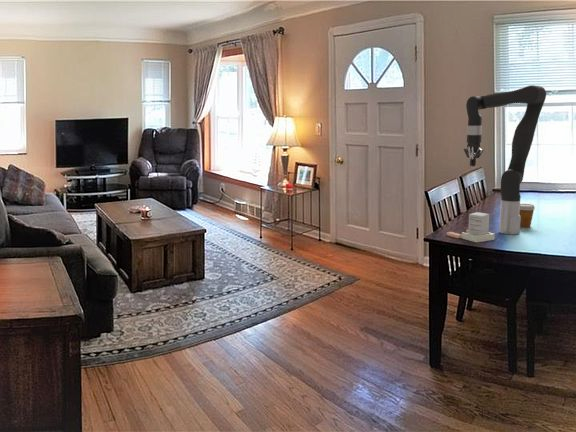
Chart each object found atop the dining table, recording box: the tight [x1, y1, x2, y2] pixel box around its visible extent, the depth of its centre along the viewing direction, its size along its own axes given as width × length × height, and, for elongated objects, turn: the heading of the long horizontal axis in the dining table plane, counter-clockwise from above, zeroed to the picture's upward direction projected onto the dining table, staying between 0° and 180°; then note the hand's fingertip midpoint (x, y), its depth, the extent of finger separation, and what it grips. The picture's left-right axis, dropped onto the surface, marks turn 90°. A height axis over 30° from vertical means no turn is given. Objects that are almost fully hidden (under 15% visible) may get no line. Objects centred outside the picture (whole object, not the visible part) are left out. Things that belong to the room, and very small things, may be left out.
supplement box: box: [467, 211, 490, 236], centre depth 275 cm, size 7×7×13 cm
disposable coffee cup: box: [519, 203, 536, 229], centre depth 301 cm, size 10×10×12 cm
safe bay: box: [461, 231, 496, 243], centre depth 275 cm, size 10×12×3 cm
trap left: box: [446, 231, 463, 239], centre depth 281 cm, size 8×3×2 cm, turn 25°
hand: (472, 166), depth 301 cm, fingers closed
